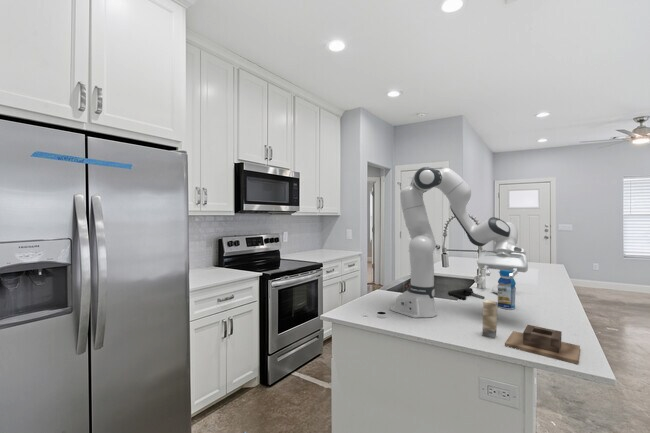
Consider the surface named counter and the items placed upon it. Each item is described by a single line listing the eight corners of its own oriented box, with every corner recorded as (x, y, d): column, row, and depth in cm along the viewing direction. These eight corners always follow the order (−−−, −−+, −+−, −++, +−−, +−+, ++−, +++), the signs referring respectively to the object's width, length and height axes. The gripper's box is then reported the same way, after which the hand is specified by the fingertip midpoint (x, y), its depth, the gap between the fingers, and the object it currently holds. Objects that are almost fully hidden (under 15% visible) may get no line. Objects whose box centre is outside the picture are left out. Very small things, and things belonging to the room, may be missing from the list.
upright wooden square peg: (482, 335, 133) (483, 301, 133) (484, 333, 136) (485, 300, 136) (494, 338, 131) (495, 304, 130) (496, 335, 133) (497, 302, 133)
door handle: (491, 294, 191) (467, 286, 205) (468, 298, 181) (445, 290, 195) (490, 299, 191) (467, 291, 205) (468, 304, 182) (445, 295, 196)
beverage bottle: (518, 310, 168) (519, 271, 167) (502, 309, 168) (503, 271, 167) (509, 305, 176) (510, 268, 176) (493, 305, 176) (494, 268, 176)
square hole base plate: (504, 346, 124) (505, 330, 123) (513, 333, 136) (513, 319, 136) (578, 364, 109) (578, 346, 109) (579, 348, 122) (580, 333, 122)
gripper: (478, 246, 156) (472, 269, 149) (528, 249, 143) (524, 275, 136) (481, 254, 160) (475, 277, 152) (530, 258, 147) (526, 283, 139)
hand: (499, 276), depth 144 cm, fingers open, 8 cm apart
